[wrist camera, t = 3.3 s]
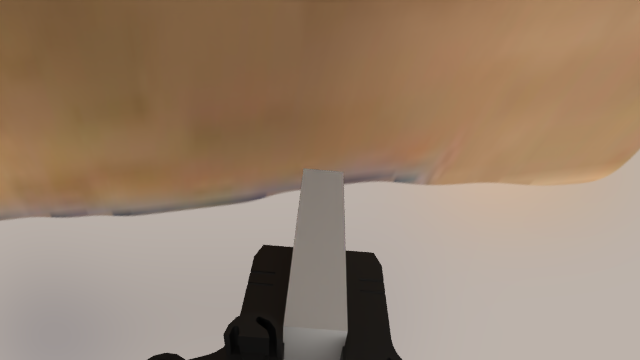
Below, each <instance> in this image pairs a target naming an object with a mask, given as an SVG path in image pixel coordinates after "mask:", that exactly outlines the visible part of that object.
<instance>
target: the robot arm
mask: <svg viewBox="0 0 640 360" xmlns="http://www.w3.org/2000/svg"><path fill="white" fill-rule="evenodd" d="M344 217H345V216H344V179H343V172H339V171H327V170H315V169H303V177H302V185H301V194H300V201H299V208H298V216H297V224H296V232H295V240H294V247H284V246H270V245H263V246H262V248H261V249H260V250H259V251H258V253H257V254H256V255H255V256H254V260H253V264H252V268H251V273H250V276H249V281H248V285H247V289H246V293H245V297H244V302H243V305H242V310H241V314H240V316H238V317H236V318H235V319H234V320H233V321H232V322H231V323H230V324H229V325H228V327H227V329H226V331H225V333H224V342H225V346H224V347H223V348H221V349H220V350H218V351H217V352H215V353H212V354H209V355H206V356H202V357H198V358H194V359H190V360H402V359H401V358H400V357H399V355H398V354H397V353H396V351H395V349H394V347H393V344H392V340H391V335H390V328H389V319H388V312H387V304H386V296H385V289H384V283H383V273H382V266H381V264H380V263H379V261H378V259H377V258H376V256H375V254H374V253H369V252H357V251H345V218H344ZM148 360H185V359H184V358H182V357H180V356H179V355H177V354H170V353H163V354H159V355H155V356H153V357H151V358H149V359H148Z"/></svg>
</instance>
